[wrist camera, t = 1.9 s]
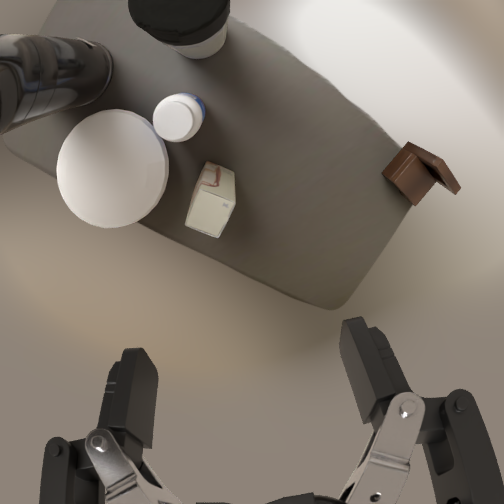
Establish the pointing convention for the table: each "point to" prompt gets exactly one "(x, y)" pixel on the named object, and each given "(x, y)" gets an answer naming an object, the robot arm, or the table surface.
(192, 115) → the pill bottle
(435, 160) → the miniature wooden chair
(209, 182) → the cream cosmetic box
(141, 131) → the white domed disc
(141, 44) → the table surface
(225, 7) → the spray can
